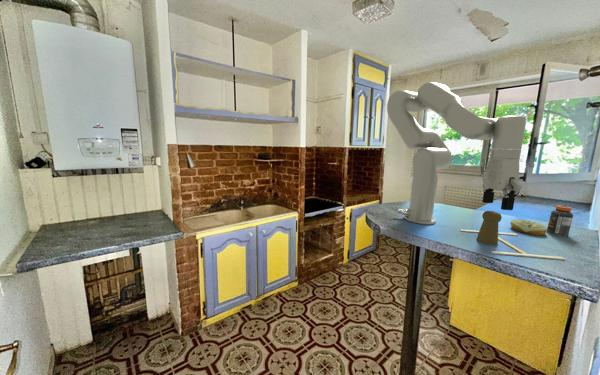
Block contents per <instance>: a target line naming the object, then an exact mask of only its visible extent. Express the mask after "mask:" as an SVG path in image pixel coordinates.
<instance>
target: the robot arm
mask: <svg viewBox="0 0 600 375" xmlns="http://www.w3.org/2000/svg"><path fill="white" fill-rule="evenodd" d="M426 110H432V111H433V113H436V114H437V115H438V116H440V117H441V118H442V120H443V122H445V124H446V126H448V127H449V128H451V130H453V131H455V132H456V133H457V134H458V135H460V136H462V137H463V138H466V139H469V140H475V141H476V140H478V141H486V140H487V141H489V140H492V141H491V143H492V144H491V148H490V156H489V159H488V161H487V164H486V167H485V171H484V176H483V178H482V186H483V188H482V190H483V196H482V203H484V204H493V203H494V198H495V192H494V191H502V193H503V197H502V199H501V205H500V210H502V211H513V210H514V205H515V201H516V200H515V199H517V197H518V195H519V194H520V191H521V190H522V188H523V185H522V184H521V183H520V182H519V177H520V158H521V153H522V147H523V141H524V136H525V130H526V124H527V118H526V117H525V116H522V115H505V116H504V115H503V116H500V117H498V118H489V117H484V116H480V115H477V114H475V113H474V112H472V111H471V110H469V109H468V108H466V107H465V106H464V105H463V104H462V98H461V97H459V95H457V94H455V93H453V92H451V89H450V87H449V86H447V85H446V84H443V83H439V82H435V81H428V82H425V83H423V84H422V85H420V86H419V88H418V90H417V92H415V91H411V90H406V89H405V90H404V89H399V90H396V91H393V93H391V94H390V96H389V98H388V100H387V105H386V112H387V115H388V116H387V117H388V118H389V119H390V122H391V123H392V125H393V126H394V128H395V129H396V130H397V132H398V134H399V136H400V137H401V139H402V141H403V142H404V144H405V146H406V147H407V148H408V149H410V150H417V151H416V152H415V153H414V154H413V156H412V182H411V189H410V190H411V191H410V198H409V207H406V208H405V209H399V208H398V209H397V210H396V213H397V215H398V214H400V215H402V216H404V218H403V219H405V220H407V221H408V222H411V223H414V224H418V225H435V224H436V223H437V219H436V218H435V217H433V214H434V207H435V201H436V194H437V188H438V181H439V179H438V171H440V170H444V169H446V168H448V167H450V164H451V163H452V160H453V158H452V156H453V155H452V154H451V151H450V150H449V148H448V146H447V145H446V143H445V142H444V141H443V139H442V138H441V137H440V135H439V134H438V132H436V131H435V130H433V129H431V128H426V127H422V126H421V125H420V124H419V122H418V121H417V120H416V118H415V117H414V116H413V114H411V113H410V112H413V113H417V112H421V111H426Z"/></svg>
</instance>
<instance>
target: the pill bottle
mask: <svg viewBox="0 0 600 375" xmlns="http://www.w3.org/2000/svg"><path fill="white" fill-rule="evenodd" d="M573 218H574V213H572V207H571V206H567V205H560V204H559V205H556V206H555V209H554V210H552V211H551V212H550V216H549V220H548V224H547V227H546V229H547V232H546V233H548V234H550V235H553V236H557V237H568V236H569V234H570V230H571V227H572V226H571V225H572V224H573V223H572V222H573Z"/></svg>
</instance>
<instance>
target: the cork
mask: <svg viewBox="0 0 600 375" xmlns="http://www.w3.org/2000/svg"><path fill="white" fill-rule="evenodd" d="M502 217H503V216H502V214H501V213H500V212H498V211H493V210H485V211H484V212H483V213H482V219H483V220H482V222H481V227H480V228H479V230H478V231H479V233H478V234H477V237H476V241H477V242H478V243H481V244H483V245H488V246H498V244H499V240H498V237H499V234H498V232H499V222H501V221H502Z"/></svg>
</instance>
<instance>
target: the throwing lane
mask: <svg viewBox="0 0 600 375" xmlns="http://www.w3.org/2000/svg"><path fill="white" fill-rule="evenodd" d="M459 231H460V232H463V233H464V232H465V233H478V234H479V231H480V230H474V229H472V230H471V229H462V228H460V229H459ZM498 235H504V236H516V237H518V236H519V234H517V233H514V232H513V233H511V232H500V231H498ZM498 242H501V243H503V244H505V245H506V246H507V247H510V248H511V249H513V250H514V251H516V252H507V251H497V250H495V251H494V250H490V254H493V255H501V256H502V255H504V256H511V257H512V256H513V257H514V256H515V257H524V258H538V259H549V260H557V261H558V260H560V261H561V260H562V261H566V258H564V257H563V256H555V255H543V254H542V255H541V254H531V253H527V252H525V251H524V250H522V249H520V248H518V247H516V246H515V245H513V244H511V243H510V242H508V241H506V240H504V239H502V238H501V237H500V236H498Z"/></svg>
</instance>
